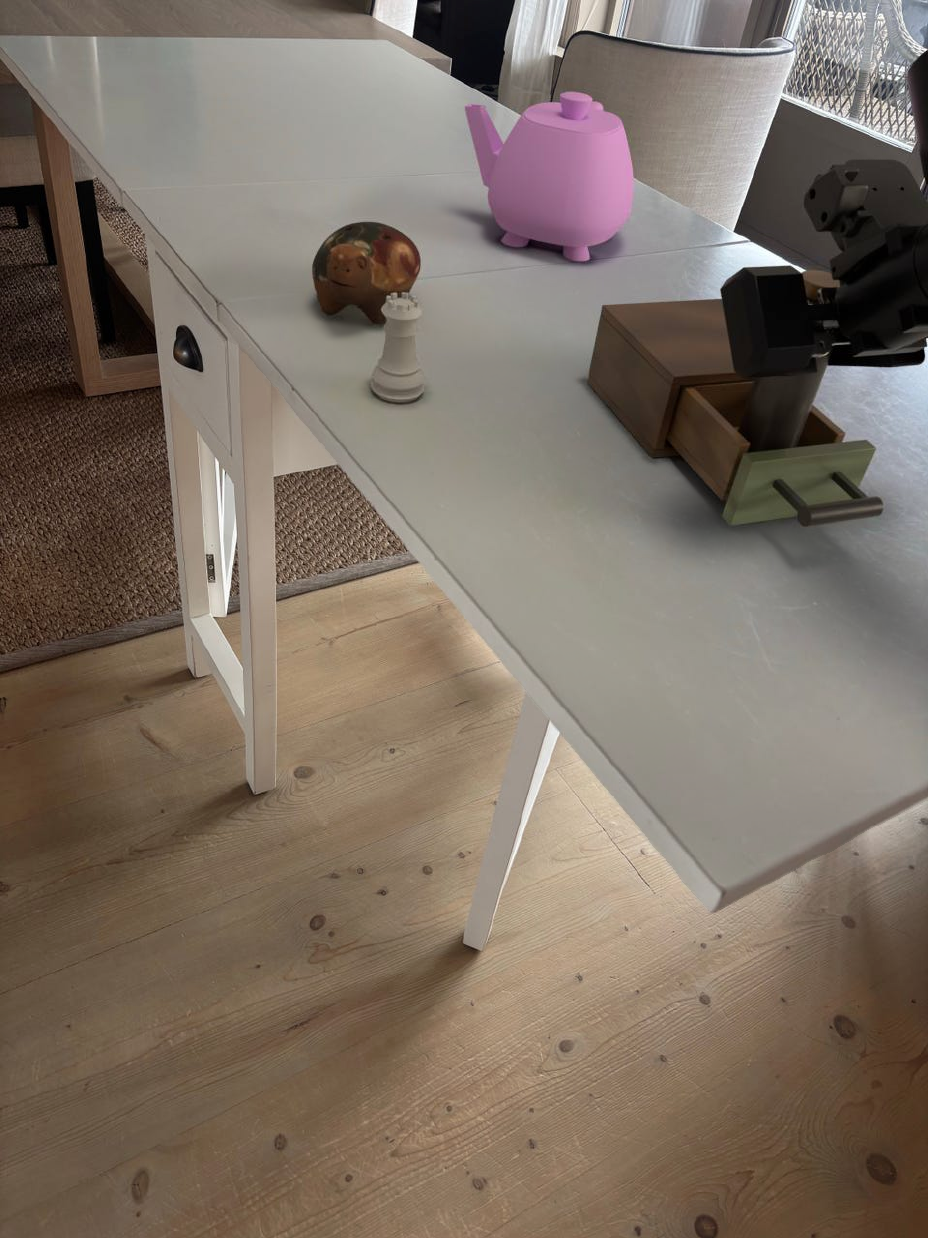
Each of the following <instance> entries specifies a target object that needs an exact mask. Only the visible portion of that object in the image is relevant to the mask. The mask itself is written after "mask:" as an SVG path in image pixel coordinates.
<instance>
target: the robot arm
mask: <svg viewBox="0 0 928 1238" xmlns="http://www.w3.org/2000/svg"><path fill="white" fill-rule="evenodd" d="M906 83H907V89H908V90H907V91H908V94H909V101H910V106H911V112H912V117H913V123H914V128H915V135H916V141H917V146H918V152H919V158H920V163H921V169H922V175H923V179H924V181H925V185H927V186H928V49H926V50H925V51H924V52H922V53H921V54H920V55H919V56H918V57H917V58H916V59H915V60H914V61H913V62H912V63H911V65H910V66H909V68H908V69H907V73H906ZM813 179H814V180H813V182H812V184H811V185H810V187H809V188H808V190H807V191H806V192H805V195H804V197H803V209H804V210H805V212H806V214H807V216H808V218H809V220H810V222H811V224H812V226H813V228H814V230H815V231H816V232H817V233H830V235H831V237H832V238H833V241H834V243H835V244H836V246H837V248H838V249H839V250H840V253H838V254H837V255H836V256H834V257H832V258H830V259H829V261H828V262H829V267H830V273H832V279H833V280H839V283H840V287H829V288H822V289H820V290H818V292H817V295H818V301H819V303H820V304H814V305H813V304H809V301H808V300H807V295H806V290H805V284H804V278H803V274H802V271H800V270H798V269H796V267H794V266H792V265H791V264H789V265H767V266H764V265H763V266H745V267H742V268H741V269H739V270H738V271H736V272H735V273H734V274H732V275H731V276H730V277H728V278H727V279H726V280H725V281H724V282H723V284H722V285H721V287H720V289H719V290H720V291H719V292H720V296H721V298H720V299H722V303H723V309H724V315H725V321H726V327H727V333H728V339H729V344H730V350H731V356H732V362H733V368H734V371H735V372H736V373H737V374H738V375H739V376H740V377H742V378H743V379H749V378H761V377H773V376H795V375H807V374H817V373H818V369H817V363H816V358H815V357H823V356H825V355H827V354H828V353H829V352H830V350H831V346H832V345H835V347H834V349H833V352H832V355H831V357H830V360H829V363H828V365H827V367H859V368H861V367H864V368H901V367H912V366H920V365H923V363H924V362H925V360H926V352H925V348H927V347H928V341H927V339H928V200H927V198H926V196H925V195H924V193H923V191H922V189H921V188H920V185H919V184H918V182H917V180H916V178H915V177H914V175H913V172H912V171H911V170H910V168H909V167H907V165H905V164H904V163H902V162H901V161H899V160H896V159H849V160H847V161H845V163H844V164H832V165H831V167H830V168H829V169H828V171H827V172H825V173H819V174H817V175H816V176H815V177H814V178H813ZM824 328H826V329H825V330H824ZM829 328H831V329H829ZM835 328H836V329H835Z"/></svg>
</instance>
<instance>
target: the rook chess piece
mask: <svg viewBox="0 0 928 1238" xmlns="http://www.w3.org/2000/svg"><path fill="white" fill-rule="evenodd" d="M419 301H420V300H419V299H418V296H417V295H415V294H412V295H410V298H409V293H404V292H402V298H397V293H396V292H395V293H391V296H387V298H386V303H385V304H384V305H383V306H382V308H381V311H382V313H383V314H384V316H385V317H386V321H385V323H384V325H383V327H382V329H383V331H384V332H385V333H384V345H383V350H382V355H381V358H379V359H378V361H377V364H376V365H375V366H374V368H373V371H372V374H371V377H372V378H373V379H372V380H371V383H370V386H371V389H372V391H373V393H374V394H375V395H376V396H377V397H378V398H380V399H381V400H384V401H386V402H391V403H397V404H402V403H403V404H404V403H409V402H413V401H415V400H417V399H418V398H419V397H420V396H421V395H422V394H423V392H424V391H425V386H424V384H423V383H424V381H425V374H424V371H423V370H422V368H421V364H420V362H419V361H418V358H417V347H416V346H417V345H416V338H417V337H416V336H417V334H418V333H419V328H418V326H417V321H418V320H419V319H420V318H421V317H422V316H423V310H422V309H421V307H420V305H419Z"/></svg>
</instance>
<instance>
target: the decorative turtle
mask: <svg viewBox="0 0 928 1238" xmlns="http://www.w3.org/2000/svg"><path fill="white" fill-rule="evenodd" d="M421 262H422V261H421V254H420V251H419V249H418V247H417V246H416V244H415V243H414V241H413V240H412V239H411V238H410V237H408V236H407V235H406V234H404V232H402V231H400V230H398V229H397V228H395V227H393V226H390V225H389V224H385V223H382V222H377V221H359V222H358V221H357V222H353V223H349V224H346V225H344V226H341V227H339V228H338V229H336V230H335V231H334V232H332V233H331V234H330V235H328V237H327V238H325V240H324V241H323V242H322V244H321V245H320V247H319V248H318V250H317V251H316V253H315V255H314V258H313V261H312V266H311V272H312V279H313V284H314V285H313V286H314V290H315V292H316V297H317V301H318V304H319V306H320V309H321V311H322V312H323V313H324V315H326V316H328V317H332V316H335V315H338V314H339V313H340V312H342V311H343V310H344V309H345V308H346V307H348V306H350V305H352V306H354V307H356V308H358V309H359V310H360V311H361V312H362V313H363V314H364V316H365V317H366V318H367V319H368V320H369V321H370V322H371V323H372V324H374V325H377V326H381V325H383V324H386V322H387V321H386V317H385V316H384V314H383V313H382V311H381V308H382V306H383V305H384V304H385V303H386V298H387V296H391V293H395V292H396V293H397V298H402V292H404V293H408V294H410V291H411V290H412V287H413V286H414V284H415V282H416V281H417V279H418V277H419V274H420V271H421V266H422V265H421Z"/></svg>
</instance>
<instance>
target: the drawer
mask: <svg viewBox="0 0 928 1238" xmlns="http://www.w3.org/2000/svg"><path fill="white" fill-rule="evenodd" d="M753 382H754V379H750V380H739V381H727V382H715V383H703V384H692V385H680V389H679V393H678V396H677V400H676V404H675V407H674V411H673V415H672V418H671V422H670V426H669V429H668V433H667V436H666V439H667V440H668V441H669V443H670V444H671V445H672V446H673V447H674V448H675V449H676V450H677V451H678V453H679V454H680V455H679V456H681V457H682V458H683V459H684V460H685V462H686V463H687V464H688V465H689V466H690V467H691V469H692V470H693V471H694V472H695V473H696V474H697V475H698V476H699V477H700V478H701V479H702V481H704V483H705V484H706V485H707V486H708V487H709V488H710V489H711V490H712V492H713V493H714V494H715V496H717V497H718V498H719V500H720V501H721V502H724V501H725V505H724V509H723V511H722V515H721V517H722V518H723V519H724V520H725V521H726V522H727V524H728V525H729V526H737V525H744V524H752V523H758V522H760V523H761V522H766V521H772V520H773V521H774V520H780V519H787V518H795V517H797V521H798V523H799V525H800V526H801V527H804V528H807V527H808V528H809V527H813V526H815V527H816V526H820V525H821V526H822V525H827V524H835V523H842V522H849V521H855V520H856V521H857V520H862V519H870V518H877V517H879V516H881V515H882V514H883V512H884V503H883V502H884V501H883V500H882V499H881V497H879V496H877V495H874V496H868V495H867V494H866V493H865V492H864V491H862V489H861V488H860V486H861V483H862V482H863V480H864V477H865V475H866V472H867V470H868V469H869V466H870V464H871V461H872V459H873V457H874V454H875V453H876V451H877V447H876V446H875V445H873V444H872V443H871V442H870V441H869V440H868V439H860V440H851V441H844V439H845V437H846V434H847V433H846V432H845V431H844V430H843V429H842V428H841V427H839V426H838V424H836V423H835V422H834V421H832V420H831V419H830V418H829V417H828V416H827V415H826V414H825V413H824V412H822V411H821V410H820V409H818V408H817V407H816V406H815V405H814V404H813V405H812V407H811V410H810V413H809V415H808V418H807V420H806V423H805V426H804V428H803V431H802V434H801V436H800V439H799V441H798V444H797V447H796V448H787V449H779V450H770V451H761V452H752V453H747V451H748V448H749V446H750V443H749V442H748V441H747V440H746V439H745V438H744V437H743V436H742V435H741V434H740V433H739V432H738V428H739V425H740V422H741V419H742V416H743V413H744V409H745V406H746V403H747V400H748V397H749V394H750V391H751V388H752V385H753Z"/></svg>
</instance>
